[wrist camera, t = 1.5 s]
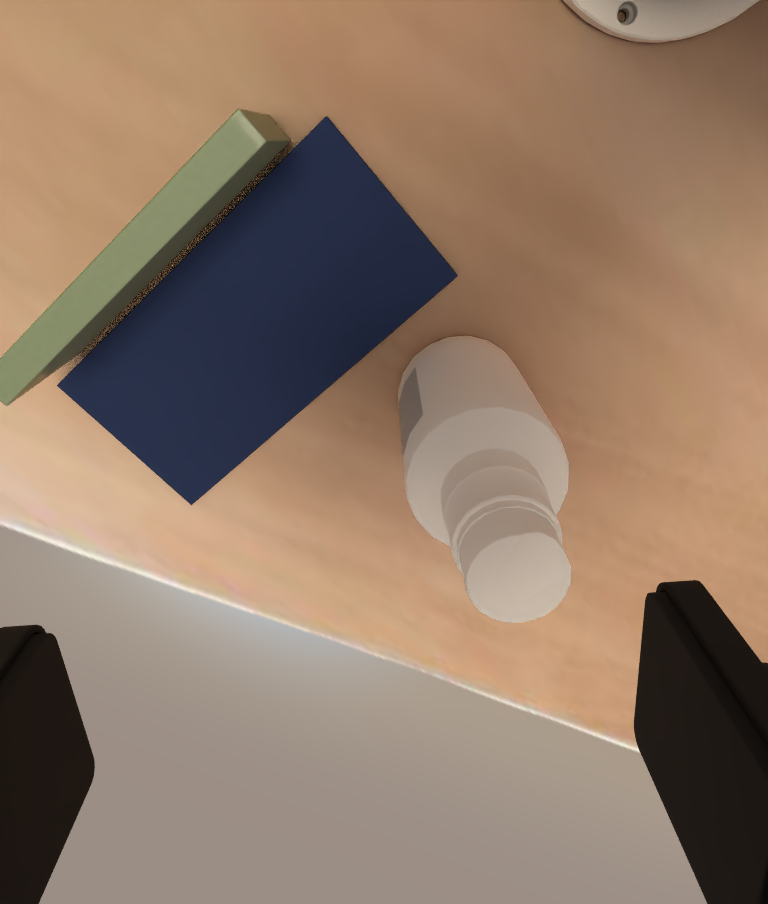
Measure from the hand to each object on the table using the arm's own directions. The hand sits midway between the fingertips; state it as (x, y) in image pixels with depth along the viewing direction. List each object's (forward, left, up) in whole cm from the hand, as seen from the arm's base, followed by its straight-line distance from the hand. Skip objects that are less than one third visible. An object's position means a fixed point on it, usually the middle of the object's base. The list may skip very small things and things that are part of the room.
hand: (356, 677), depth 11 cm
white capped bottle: (-4, +6, -28) cm, 29 cm away
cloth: (+6, 0, -28) cm, 29 cm away
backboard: (+9, -5, -28) cm, 30 cm away
